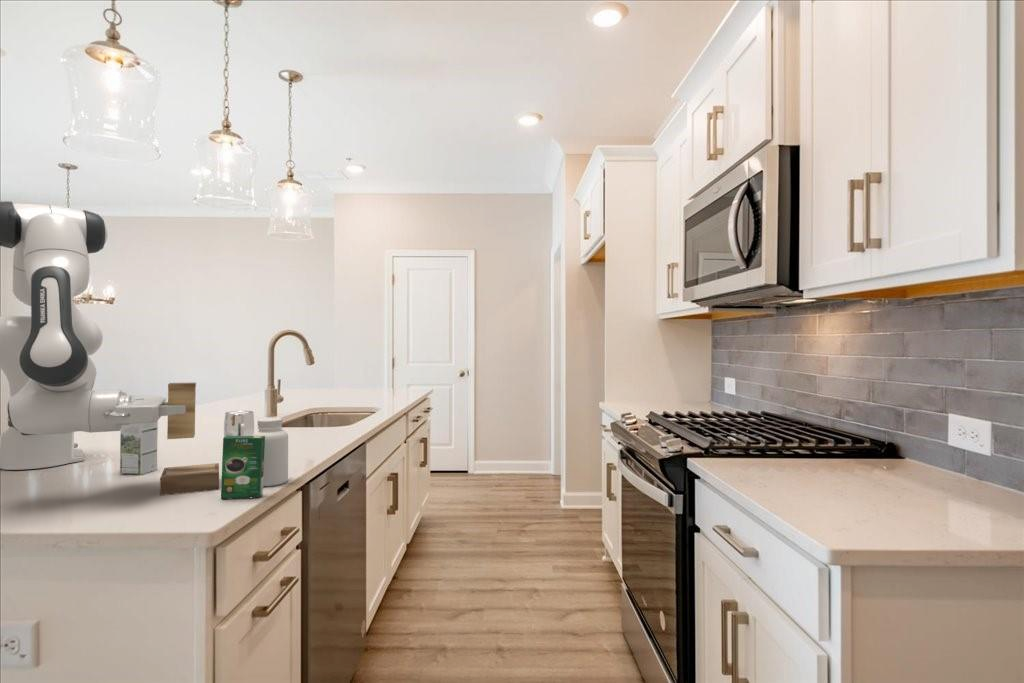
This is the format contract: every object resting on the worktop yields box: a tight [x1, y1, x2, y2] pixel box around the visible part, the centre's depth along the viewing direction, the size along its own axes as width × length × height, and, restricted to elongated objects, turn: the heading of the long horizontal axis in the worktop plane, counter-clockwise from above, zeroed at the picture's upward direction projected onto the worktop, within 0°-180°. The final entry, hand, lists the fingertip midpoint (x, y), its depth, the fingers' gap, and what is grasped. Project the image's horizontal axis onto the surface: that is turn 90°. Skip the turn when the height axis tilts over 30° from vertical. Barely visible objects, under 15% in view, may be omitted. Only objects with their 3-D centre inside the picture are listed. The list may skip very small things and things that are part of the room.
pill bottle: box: [252, 417, 289, 487], centre depth 124 cm, size 8×8×15 cm
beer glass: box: [223, 410, 255, 438], centre depth 135 cm, size 7×7×15 cm
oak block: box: [166, 381, 197, 440], centre depth 119 cm, size 5×5×12 cm
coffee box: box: [220, 436, 265, 500], centre depth 113 cm, size 8×3×13 cm, turn 102°
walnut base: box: [159, 462, 220, 496], centre depth 120 cm, size 10×11×4 cm
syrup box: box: [119, 420, 159, 476], centre depth 132 cm, size 6×6×14 cm
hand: (186, 407), depth 119 cm, fingers closed on oak block, 4 cm apart
